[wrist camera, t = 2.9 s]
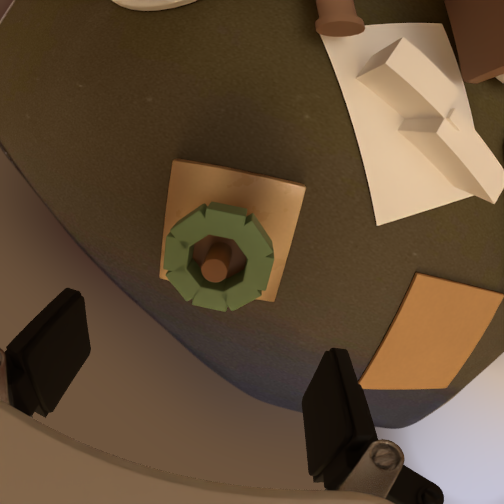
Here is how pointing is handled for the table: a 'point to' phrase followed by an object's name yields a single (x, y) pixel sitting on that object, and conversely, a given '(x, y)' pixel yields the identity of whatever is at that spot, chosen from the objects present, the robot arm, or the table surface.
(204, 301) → the ring
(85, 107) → the table surface
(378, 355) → the cork mat
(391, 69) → the napkin holder
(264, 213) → the ring peg
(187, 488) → the robot arm
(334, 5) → the toilet paper hanger
